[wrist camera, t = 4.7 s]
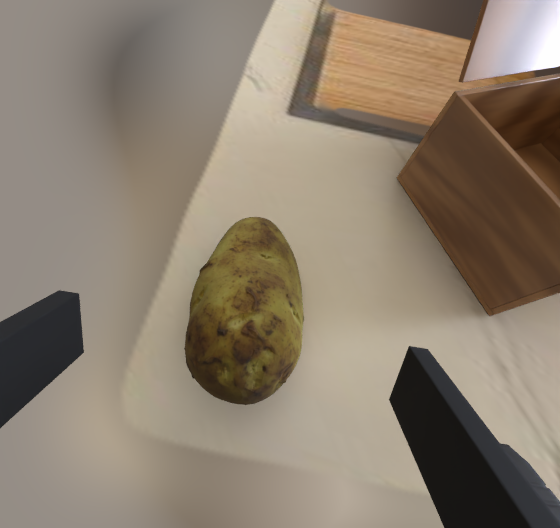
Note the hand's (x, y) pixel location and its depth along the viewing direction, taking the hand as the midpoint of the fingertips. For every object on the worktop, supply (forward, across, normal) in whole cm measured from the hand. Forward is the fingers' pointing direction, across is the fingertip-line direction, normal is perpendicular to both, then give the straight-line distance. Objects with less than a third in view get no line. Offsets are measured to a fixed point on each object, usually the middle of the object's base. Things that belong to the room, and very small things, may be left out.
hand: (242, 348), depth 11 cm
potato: (+10, 0, -4) cm, 11 cm away
